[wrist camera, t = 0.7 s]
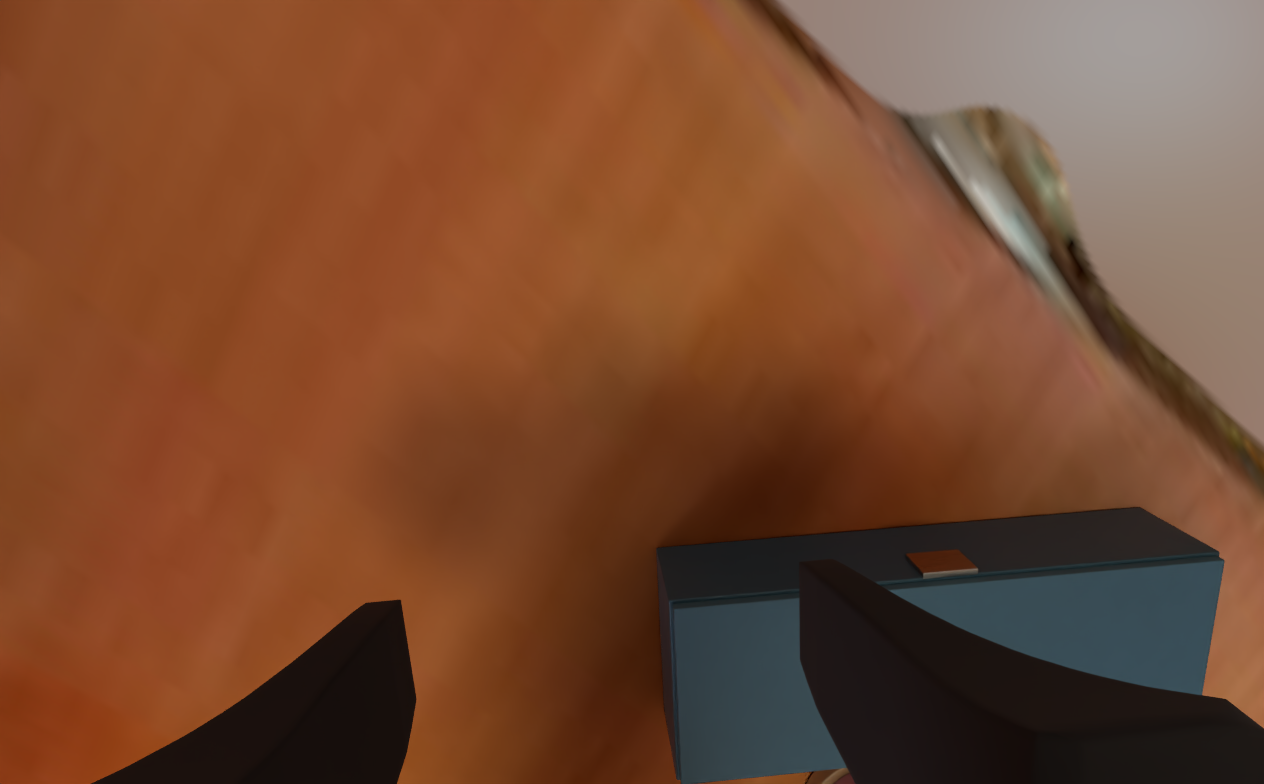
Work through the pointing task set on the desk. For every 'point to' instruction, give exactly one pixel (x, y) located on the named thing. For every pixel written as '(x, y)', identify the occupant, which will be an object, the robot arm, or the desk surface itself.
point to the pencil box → (938, 583)
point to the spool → (831, 777)
